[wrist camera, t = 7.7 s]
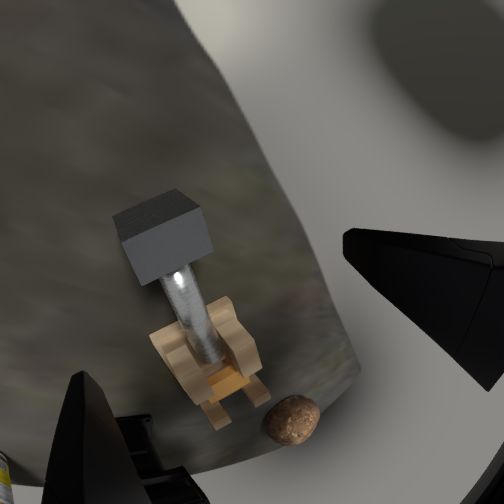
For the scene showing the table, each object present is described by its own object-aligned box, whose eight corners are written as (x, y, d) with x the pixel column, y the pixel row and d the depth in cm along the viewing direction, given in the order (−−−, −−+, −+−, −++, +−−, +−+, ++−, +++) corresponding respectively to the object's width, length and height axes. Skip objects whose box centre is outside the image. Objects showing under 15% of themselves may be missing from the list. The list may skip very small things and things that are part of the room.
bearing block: (248, 364, 29) (276, 396, 25) (190, 396, 27) (212, 433, 23) (225, 295, 24) (259, 331, 20) (149, 335, 21) (169, 380, 17)
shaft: (221, 325, 23) (247, 357, 20) (177, 348, 21) (198, 384, 18) (175, 188, 16) (200, 206, 13) (112, 216, 15) (121, 242, 12)
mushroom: (310, 427, 40) (324, 446, 34) (261, 435, 39) (269, 456, 33) (311, 384, 41) (327, 399, 34) (259, 391, 39) (268, 408, 33)
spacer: (234, 361, 26) (250, 381, 24) (197, 381, 25) (211, 404, 23) (228, 345, 25) (245, 366, 23) (188, 367, 23) (202, 390, 21)
